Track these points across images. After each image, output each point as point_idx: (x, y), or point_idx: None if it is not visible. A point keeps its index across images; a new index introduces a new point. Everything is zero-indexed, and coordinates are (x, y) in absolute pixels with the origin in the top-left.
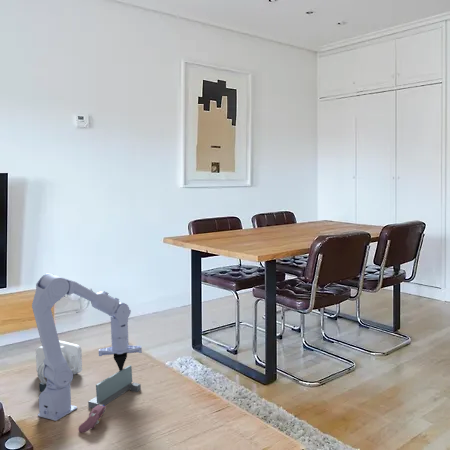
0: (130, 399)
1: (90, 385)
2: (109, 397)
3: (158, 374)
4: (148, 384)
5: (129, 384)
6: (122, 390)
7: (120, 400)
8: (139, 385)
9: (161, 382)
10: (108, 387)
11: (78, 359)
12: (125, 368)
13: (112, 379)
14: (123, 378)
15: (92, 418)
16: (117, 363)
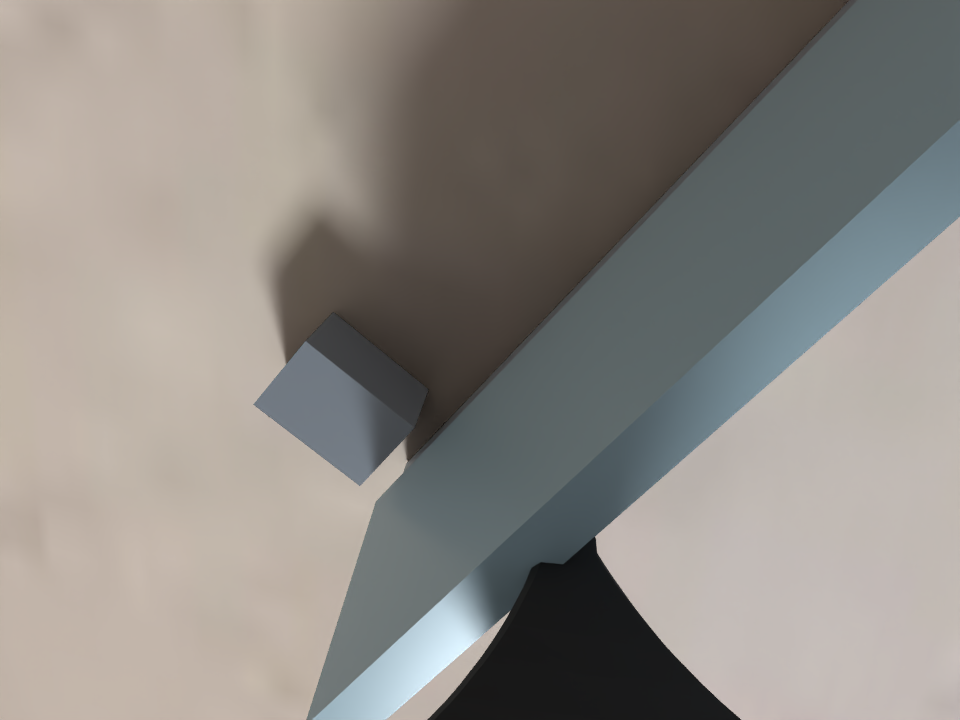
0: (444, 94)
1: (912, 686)
2: None
3: (80, 714)
4: (187, 501)
5: None
6: None
7: (597, 103)
8: (275, 378)
9: (25, 507)
10: (934, 9)
11: None
12: (449, 614)
13: (858, 161)
14: (519, 423)
15: None
16: (711, 707)
